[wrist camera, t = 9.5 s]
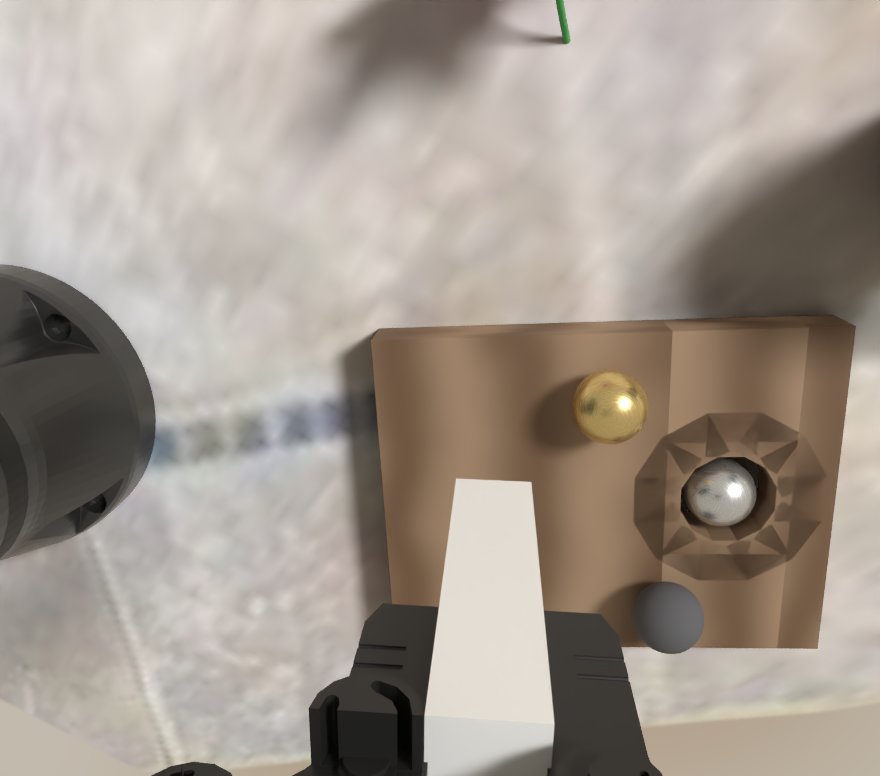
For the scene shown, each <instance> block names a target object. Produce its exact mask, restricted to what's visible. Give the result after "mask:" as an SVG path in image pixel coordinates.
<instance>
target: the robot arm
mask: <svg viewBox="0 0 880 776" xmlns="http://www.w3.org/2000/svg"><path fill="white" fill-rule="evenodd" d="M155 421H156V420H155V407H154V400H153V396H152V391H151V387H150V384H149V380H148V378H147V375H146V372H145V370H144V367H143V365H142V363H141V361H140V359H139V357H138V355H137V353H136V351H135V350H134V348H133V346H132V345H131V343H130V341H129V340H128V339H127V337H126V336H125V334H124V333H123V332H122V330H121V329H120V328H119V327H118V326H117V324H116V323H115V322H114V321H113V320H112V319H111V318H110V317H109V316H108V315H107V314H106V313H105V312H104V311H103V310H102V309H101V308H100V307H99V306H98V305H97V304H95V303H94V302H93V301H92V300H91V299H89V298H88V297H86V296H85V295H84V294H82V293H81V292H79V291H78V290H76V289H75V288H73V287H71V286H70V285H68V284H66V283H64V282H62V281H60V280H58V279H56V278H54V277H51V276H49V275H46V274H44V273H41V272H38V271H34V270H31V269H27V268H23V267H17V266H11V265H0V560H3V559H6V558H9V557H13V556H16V555H19V554H22V553H25V552H28V551H32V550H35V549H38V548H41V547H44V546H47V545H51V544H54V543H57V542H60V541H63V540H66V539H69V538H71V537H74V536H76V535H78V534H80V533H82V532H84V531H85V530H87V529H89V528H91V527H92V526H94V525H95V524H97V523H98V522H100V521H101V520H102V519H103V518H104V517H106V516H107V515H108V514H109V513H110V512H111V511H112V510H113V509H114V508H116V507H117V506H118V505H119V504H120V503H121V502H122V501H123V500H124V499H125V498H126V497H127V496H128V495H129V494H130V493H131V492H132V491H133V489H134V488H135V487H136V485H137V484H138V482H139V481H140V479H141V477H142V476H143V474H144V472H145V470H146V468H147V465H148V463H149V460H150V457H151V453H152V450H153V445H154V439H155ZM309 722H310V743H311V765H310V766H309V767H307V768H306V769H304V770H302V771H300V772H298V773H297V774H295V775H293V776H662V774H661V773H660V771H659V770H658V769H657V768H655V767H654V766H653V765H652V764H651V762H650V760H649V758H648V755H647V751H646V747H645V743H644V739H643V735H642V730H641V726H640V722H639V718H638V714H637V710H636V706H635V702H634V698H633V694H632V690H631V686H630V682H629V681H628V673H627V669H626V665H625V662H624V657H623V653H622V649H621V645H620V641H619V637H618V634H617V633H616V632H615V630H614V629H613V628H612V627H611V626H610V625H609V624H608V622H607V621H606V620H605V619H604V618H603V617H602V615H601V614H595V613H577V612H560V611H544V609H543V598H542V588H541V577H540V567H539V556H538V546H537V536H536V525H535V515H534V504H533V494H532V483H531V482H522V481H500V480H478V479H456V483H455V490H454V498H453V505H452V513H451V520H450V528H449V535H448V543H447V550H446V558H445V565H444V573H443V580H442V588H441V595H440V603H439V607H434V606H417V605H399V604H382V605H381V606H380V607H379V608H378V609H377V610H376V611H375V612H374V613H373V614H372V615H371V616H370V617H369V618H368V619H367V620H366V621H365V624H364V627H363V631H362V634H361V638H360V641H359V648H357V652H356V655H355V659H354V664H353V667H352V669H351V673H350V676H349V677H346V678H343V679H340V680H337V681H334V682H333V683H331V684H330V685H329V686H327V687H326V688H325V689H323V690H322V691H320V692H319V693H318V694H317V696H316V697H315V699H314V701H313V702H312V704H311V705H310V707H309ZM152 776H232V774H231V773H230V772H228V771H226V770H224V769H223V768H221V767H219V766H217V765H215V764H208V763H199V762H191V763H186V764H180V765H175V766H171V767H168V768H166V769H164V770H162V771H160V772H158V773H156V774H154V775H152Z"/></svg>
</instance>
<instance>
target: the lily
mask: <svg viewBox="0 0 880 776" xmlns="http://www.w3.org/2000/svg"><path fill="white" fill-rule="evenodd" d="M556 4H557V10H558V15H559V21H560V26H561V31H562V36H563V41H564V43H569V42H570V36H569V30H568V25H567V20H566V14H565V8H564V2H563V0H556Z"/></svg>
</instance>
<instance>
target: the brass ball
mask: <svg viewBox="0 0 880 776" xmlns="http://www.w3.org/2000/svg"><path fill="white" fill-rule="evenodd" d="M648 411H649V402H648V398H647V395H646V392H645V390H644V388H643V387H642V385H641V384H640V383H639V382H638V381H637V380H636V379H635V378H634V377H633V376H631V375H629V374H627V373H625V372H623V371H619V370H613V369H607V370H601V371H597V372H595V373H593V374H591V375H589V376H588V377H586V378H585V379H584V380H583V381H582V382H581V383H580V384H579V385H578V387H577V389H576V391H575V393H574V395H573V399H572V415H573V418H574V421H575V423H576V425H577V427H578V428H579V430H580V431H581V432H582V433H583V434H584V435H585V436H586V437H588V438H589V439H591V440H593V441H595V442H598V443H601V444H607V445H614V444H620V443H623V442H626V441H628V440H630V439H632V438H633V437H634V436H636V435H637V434H638V433H639V432H640V430H641V429H642V428H643V426H644V424H645V422H646V420H647V417H648Z"/></svg>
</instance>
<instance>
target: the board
mask: <svg viewBox="0 0 880 776" xmlns="http://www.w3.org/2000/svg"><path fill="white" fill-rule="evenodd" d="M855 328H856V326H854V325H852V324H850V323H848V322H846V321H844V320H842V319H840V318H838V317H836V316H834V315H803V316H771V317H739V318H707V319H675V320H642V321H610V322H578V323H546V324H514V325H481V326H449V327H417V328H385V329H379V330H378V331H377V333H376V334H375V335H374V337H373V338H372V340H371V349H372V361H373V374H374V386H375V398H376V411H377V423H378V436H379V448H380V461H381V473H382V486H383V498H384V511H385V523H386V536H387V548H388V561H389V573H390V586H391V598H392V604H399V605H417V606H434V607H439V603H440V595H441V588H442V580H443V573H444V565H445V558H446V550H447V543H448V535H449V528H450V520H451V513H452V505H453V498H454V490H455V483H456V479H478V480H500V481H522V482H531V483H532V494H533V504H534V515H535V525H536V536H537V546H538V556H539V567H540V577H541V588H542V598H543V609H544V611H560V612H577V613H595V614H601V615H602V617H603V618H604V619H605V620H606V621H607V622H608V624H609V625H610V626H611V627H612V628H613V629H614V630H615V632H616V633H617V634H618V637H619V641H620V645H621V647H649V646H648V645H646V644H645V643H644V642H643V641H642V640H641V638H640V637H639V635H638V634H637V632H636V630H635V627H634V624H633V619H632V610H633V605H634V602H635V600H636V598H637V596H638V595H639V593H640V592H641V591H642V590H643V589H644V588H646V587H647V586H649V585H651V584H654V583H657V582H665V581H666V582H674V583H677V584H680V585H682V586H684V587H686V588H687V589H688V590H690V591H691V592H692V593H693V594H694V595H695V596H696V598H697V599H698V601H699V602H700V604H701V606H702V609H703V612H704V629H703V632H702V635H701V637H700V639H699V640H698V641H697V643H696V644H695V645H694V646H692V647H700V648H807V649H817V648H818V639H819V631H820V622H821V614H822V606H823V597H824V589H825V580H826V572H827V564H828V555H829V547H830V538H831V530H832V521H833V513H834V505H835V496H836V488H837V479H838V471H839V463H840V454H841V446H842V437H843V429H844V420H845V412H846V404H847V395H848V387H849V378H850V370H851V362H852V353H853V345H854V336H855ZM607 369H613V370H619V371H623V372H625V373H627V374H629V375H631V376H633V377H634V378H635V379H636V380H637V381H638V382H639V383H640V384H641V385H642V387H643V388H644V390H645V392H646V395H647V398H648V402H649V411H648V417H647V420H646V422H645V424H644V426H643V428H642V429H641V430H640V432H639V433H638V434H637V435H636V436H634V437H633V438H632V439H630V440H628V441H626V442H623V443H620V444H614V445H607V444H601V443H598V442H595V441H593V440H591V439H589V438H588V437H586V436H585V435H584V434H583V433H582V432H581V431H580V430H579V428H578V427H577V425H576V423H575V421H574V418H573V415H572V399H573V395H574V393H575V391H576V389H577V387H578V385H579V384H580V383H581V382H582V381H583V380H584V379H585V378H586V377H588V376H589V375H591V374H593V373H595V372H597V371H601V370H607ZM718 457H745V458H747V459H749V460H751V461H753V462H755V463H757V464H759V466H760V474H759V486H758V490H757V491H756V501H755V505H754V507H753V509H752V511H751V512H750V514H749V515H748V516H747V517H746V518H745V519H743V520H742V521H740V522H738V523H736V524H734V525H730V526H713V525H710V524H707V523H705V522H703V521H701V520H700V519H698V518H697V517H696V516H695V515H694V514H692V513H690V512H689V511H687V510H685V509H683V508H681V507H680V506H681V489H682V487H683V486H684V484H685V483H686V482H687V480H688V479H689V477H690V476H691V474H692V473H693V471H694V470H695V469H696V468H698V467H700V466H702V465H704V464H706V463H708V462H710V461H712V460H714V459H716V458H718Z"/></svg>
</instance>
